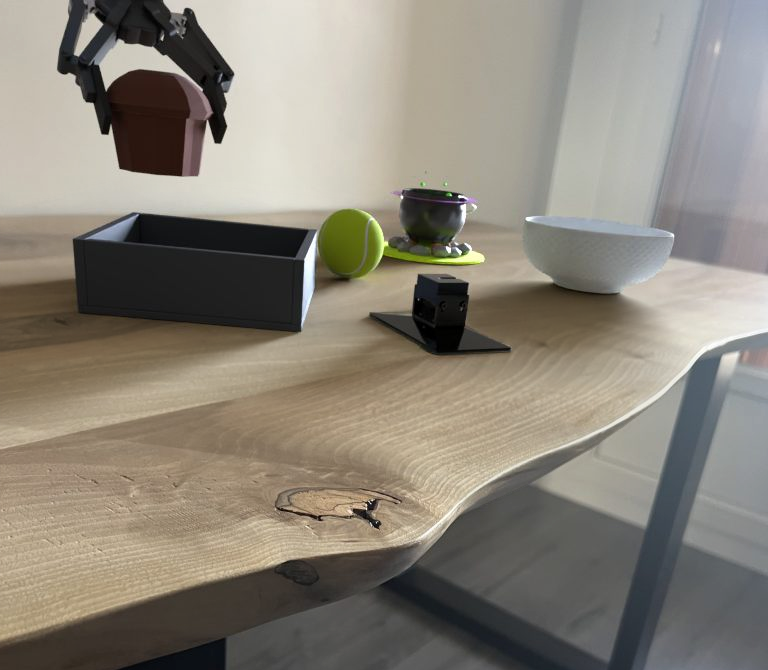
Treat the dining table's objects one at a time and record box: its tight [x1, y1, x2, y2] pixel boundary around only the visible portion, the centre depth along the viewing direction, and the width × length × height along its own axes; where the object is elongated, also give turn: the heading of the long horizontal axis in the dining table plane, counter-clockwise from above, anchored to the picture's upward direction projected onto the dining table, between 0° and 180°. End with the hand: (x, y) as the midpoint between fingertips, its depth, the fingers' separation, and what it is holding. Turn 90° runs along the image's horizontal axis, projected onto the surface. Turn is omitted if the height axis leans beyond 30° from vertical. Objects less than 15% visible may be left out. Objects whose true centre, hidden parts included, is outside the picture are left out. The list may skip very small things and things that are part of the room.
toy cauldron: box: [382, 164, 485, 265], centre depth 105 cm, size 15×15×11 cm
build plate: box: [368, 273, 512, 356], centre depth 68 cm, size 12×7×5 cm, turn 27°
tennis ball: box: [317, 208, 385, 279], centre depth 86 cm, size 7×7×7 cm
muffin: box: [106, 68, 214, 178], centre depth 90 cm, size 12×11×10 cm
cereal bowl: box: [521, 215, 675, 294], centre depth 95 cm, size 17×17×7 cm
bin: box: [72, 211, 319, 333], centre depth 71 cm, size 18×18×6 cm
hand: (166, 130), depth 88 cm, fingers closed on muffin, 12 cm apart
